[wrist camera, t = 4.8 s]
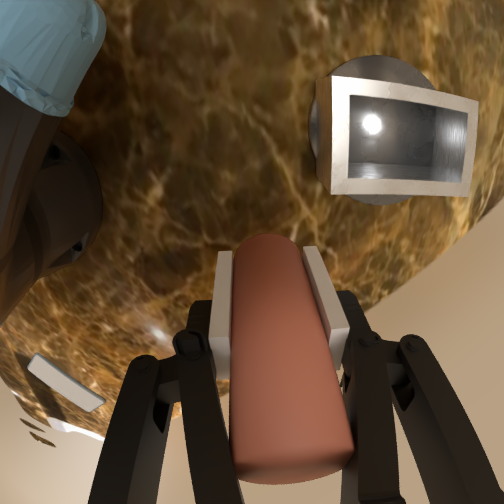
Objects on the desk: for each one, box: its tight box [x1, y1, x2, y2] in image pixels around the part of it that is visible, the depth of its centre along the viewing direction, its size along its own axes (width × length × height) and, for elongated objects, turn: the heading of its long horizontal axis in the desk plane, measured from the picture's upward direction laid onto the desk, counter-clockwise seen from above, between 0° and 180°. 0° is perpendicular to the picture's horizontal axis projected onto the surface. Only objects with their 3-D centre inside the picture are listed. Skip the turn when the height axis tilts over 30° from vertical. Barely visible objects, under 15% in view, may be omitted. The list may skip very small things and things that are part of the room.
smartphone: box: [27, 353, 105, 412], centre depth 42 cm, size 8×1×15 cm
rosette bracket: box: [308, 55, 478, 205], centre depth 21 cm, size 14×14×6 cm
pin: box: [229, 233, 355, 485], centre depth 13 cm, size 4×4×12 cm
